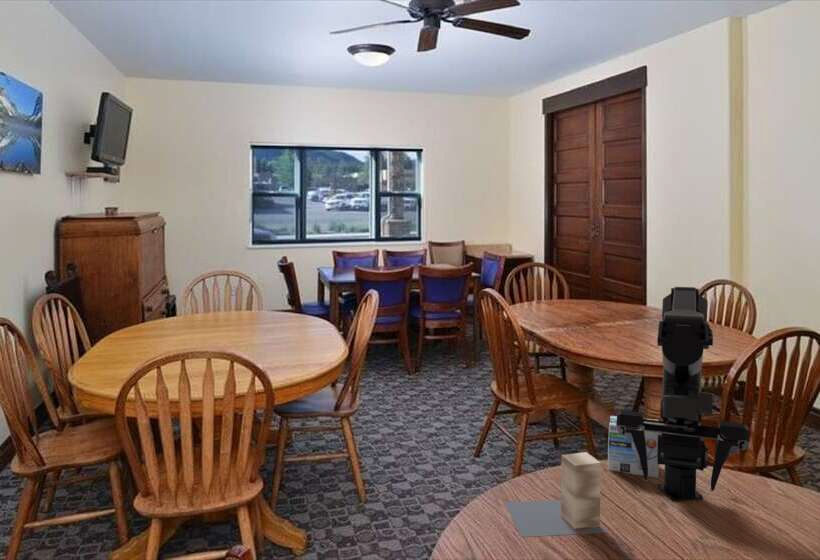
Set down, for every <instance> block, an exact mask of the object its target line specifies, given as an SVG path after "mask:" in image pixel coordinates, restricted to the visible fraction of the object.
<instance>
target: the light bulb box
mask: <svg viewBox="0 0 820 560" xmlns="http://www.w3.org/2000/svg"><path fill="white" fill-rule="evenodd" d="M609 417H610V419H609V425H608V442H607V444H608V445H607V470H608V471H614V472H621V473H624V474H627V475H628V474H629V475H635V476H643V477H644V474H643V470H642V466H641V462H640V458H639V455H638V452H637V450H636V447H635V445H634V442H633V441H629V440H627V439H626V435H622V434H619V432H618V429H617V426H616V423H617V415H610V416H609ZM648 419H649V418H648ZM649 420H653V419H651V418H650V419H649ZM656 420H657V421H660V420H659V419H656ZM644 434H645V439H646V450H647V462H648V477H652V478H659V475H660V474H659V469H660V468H659V467H660V465H659V464H658V434H660V435H661V433H657V432H649V431H645V433H644Z"/></svg>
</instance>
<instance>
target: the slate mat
mask: <svg viewBox="0 0 820 560" xmlns="http://www.w3.org/2000/svg"><path fill="white" fill-rule="evenodd" d="M504 504H505V507H506V509H507V511H508V513H509V515H510V517H511V519H512V521H513V523H514V526H515V528H516V529H517V533H518V534H519V537H520V538H533V537H553V536H569V535H570V536H573V535H590V534H607V533H608V531H607V530H606V528H605V527H604V526H603V525H602V523H601V522H600V527H596V528H590V529H583V530H577V531H574V530H573V529H572V528H571V527H570V526H569V525H568V524H567V523H566V522H565V521H564V520H563V519H562V518H561V499H547V500H546V499H544V500H527V501H526V500H522V501H505V502H504Z"/></svg>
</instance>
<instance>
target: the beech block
mask: <svg viewBox="0 0 820 560" xmlns="http://www.w3.org/2000/svg"><path fill="white" fill-rule="evenodd" d="M560 463H561V468H560V470H561V479H560V480H561V481H560V483H561V484H560V485H561V487H560V490H561V491H560V492H561V494H560V495H561V496H560V497H561V498H560V500H561V518H562V519H563V520H564V521H565V522H566V523H567V524H568V525H569V526H570V527H571V528H572V529H573V530H574V531H577V530H583V529H590V528H596V527H600V523H601V479H602V478H601V475H602V474H601V471H602V469H601V468H602V466H601V464H602V463H601V461H599V460H598V459H596V457H594V456H592V455H591V454H590V453H588V452H587V451H585V452H583V451H582V452H576V453H567V454H561V462H560Z"/></svg>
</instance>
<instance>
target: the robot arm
mask: <svg viewBox="0 0 820 560" xmlns="http://www.w3.org/2000/svg"><path fill="white" fill-rule="evenodd" d="M699 289H700V288H696V287H694V286H693V287H692V286H674V287H671V289H670V293H669V294H668V295H666V296H665V297H663V298H662V309H661V310H662V313H661V318H662V320H659V322H658V331H657V346H659V347H661V353H662V355H661V356H662V364H663V371H662V372H663V373H662V388H661V389H662V391H661V392H662V393H661V401H660V409H659V410H660V413H659V417H660V420H659V421H657V420H658V419H652V420H649V418H645V415H644V412H641V411H633V410H622V409H621V410H620V411H619V412H618V413H617V415H616V416H617V423H616V426H617V429H618V432H619V434H622V435H626V439H627V440H629V441H633V442H634V445H635V447H636V450H637V452H638V455H639V458H640V462H641V466H642V470H643V474H644V476H643V477H644V481H645V482H648V481H649V476H648V462H647V450H646V439H645V434H644V433H645V431H649V432H657V433H660V434H658V464H659V466H660V465H663V466H664V483H657V484H656V487H657V488H658V489H659V490H660V491H661V492H662V493H663V494H664V495H665V496H667V498H669V499H670V500H671V501H685V500H686V501H688V500H689V501H690V500H703V498H704V496H703V495H702V494H701V493H700V492H699V491H697V470H699V471H703V472H704V469H707V468H708V459H709V458H708V456H709V447H708V446H707V445H706V442H705V439H708V440H714V441H715V440H716V441H717V442H716V447H715V451H714V460H713V466H712V473H711V478H710V491H711V492H714V491H715V489H716V486H717V484H718V480H719V478H720V475H721V472H722V468H724V465H725V463H726V461H727V459H728V458H729V456H730V455H737V454H738V453H739V451H740V450H741V451H745V450H746V451H747V449H748V447H749V445H750V440H751V439H750V437H751V436H750V428H749V426H748V425H746V423H741V422H740V423H739V422H733V421H722V420H720V421H719V423H718V424H719V425H718V426H709V425H708V426H707V425H701V423H702V415H703V416H705V415H706V416H713V410H714V409H713V408H714V407H713V405H714V403H713V399H714V398H713V397H714V396H713V395H714V393H711V392H702V368H703V367H702V366H703V358H704V350H709V349H710V348H709V347H710V346H714V337H713V335H714V334H713V329H711V327H710V326H711V325H710V324H709V322H708V299H706V298H705V297H704V296H702V295H701V294H700V292H699V291H700V290H699Z"/></svg>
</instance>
